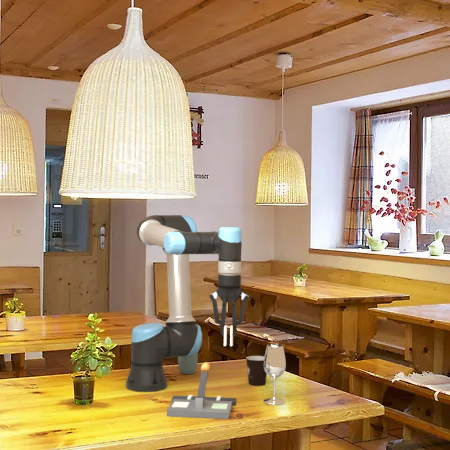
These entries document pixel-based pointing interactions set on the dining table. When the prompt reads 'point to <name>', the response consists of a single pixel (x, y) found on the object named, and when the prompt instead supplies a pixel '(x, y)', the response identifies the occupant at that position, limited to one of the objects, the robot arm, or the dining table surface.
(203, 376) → the breaker lever
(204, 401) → the breaker panel
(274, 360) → the wineglass
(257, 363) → the coffee mug
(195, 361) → the cup
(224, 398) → the dressed cords
